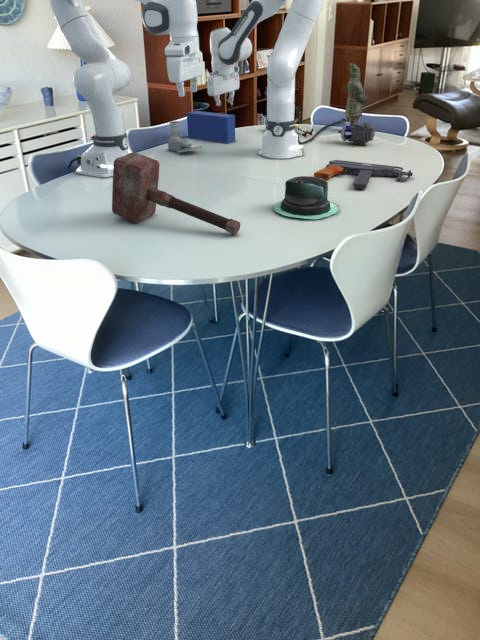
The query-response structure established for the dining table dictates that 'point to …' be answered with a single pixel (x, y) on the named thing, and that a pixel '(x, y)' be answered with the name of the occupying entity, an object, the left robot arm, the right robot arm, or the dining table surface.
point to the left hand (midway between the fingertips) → (188, 94)
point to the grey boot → (178, 140)
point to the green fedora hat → (306, 199)
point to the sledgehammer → (152, 194)
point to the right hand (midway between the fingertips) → (225, 103)
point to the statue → (354, 96)
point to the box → (211, 126)
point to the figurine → (302, 131)
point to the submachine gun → (360, 171)
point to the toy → (357, 133)
